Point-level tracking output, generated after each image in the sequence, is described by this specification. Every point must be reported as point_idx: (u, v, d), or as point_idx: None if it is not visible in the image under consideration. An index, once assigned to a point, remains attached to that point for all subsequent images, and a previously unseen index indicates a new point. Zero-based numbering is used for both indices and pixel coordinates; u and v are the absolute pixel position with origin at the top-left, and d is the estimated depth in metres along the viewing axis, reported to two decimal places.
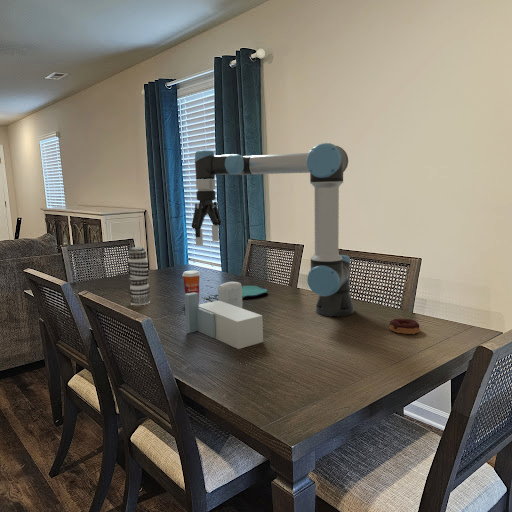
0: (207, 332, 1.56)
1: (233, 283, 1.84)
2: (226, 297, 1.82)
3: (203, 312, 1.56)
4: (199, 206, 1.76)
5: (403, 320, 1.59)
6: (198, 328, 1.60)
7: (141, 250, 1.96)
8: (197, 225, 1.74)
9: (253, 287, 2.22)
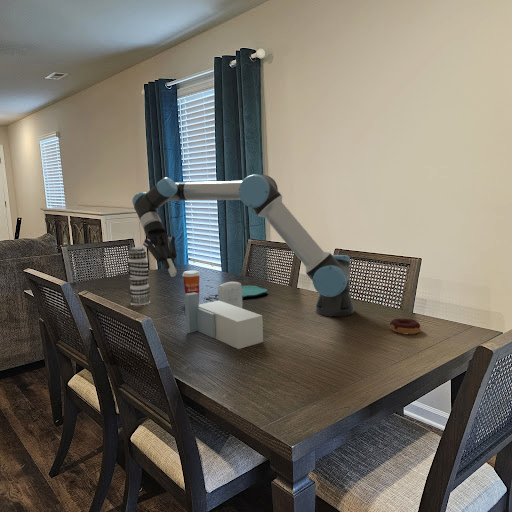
0: (207, 332, 1.56)
1: (233, 283, 1.84)
2: (226, 297, 1.82)
3: (203, 312, 1.56)
4: (146, 243, 1.71)
5: (404, 320, 1.59)
6: (198, 328, 1.60)
7: (141, 250, 1.96)
8: (159, 256, 1.69)
9: (253, 287, 2.22)
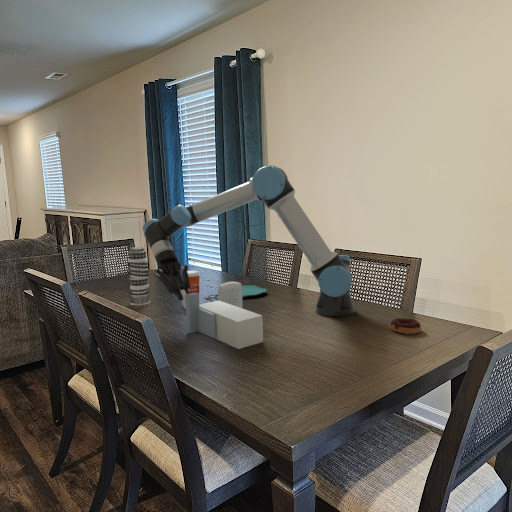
0: (208, 332, 1.55)
1: (233, 283, 1.84)
2: (226, 297, 1.82)
3: (204, 312, 1.56)
4: (158, 273, 1.64)
5: (404, 320, 1.60)
6: (199, 328, 1.60)
7: (141, 250, 1.96)
8: (172, 288, 1.62)
9: (252, 287, 2.23)
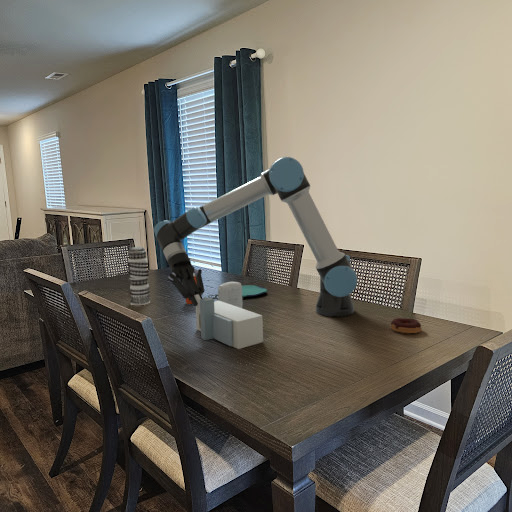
0: (224, 340, 1.47)
1: (233, 283, 1.84)
2: (226, 297, 1.82)
3: (219, 319, 1.48)
4: (171, 277, 1.56)
5: (405, 320, 1.60)
6: (214, 335, 1.52)
7: (141, 250, 1.96)
8: (186, 293, 1.54)
9: (252, 287, 2.23)
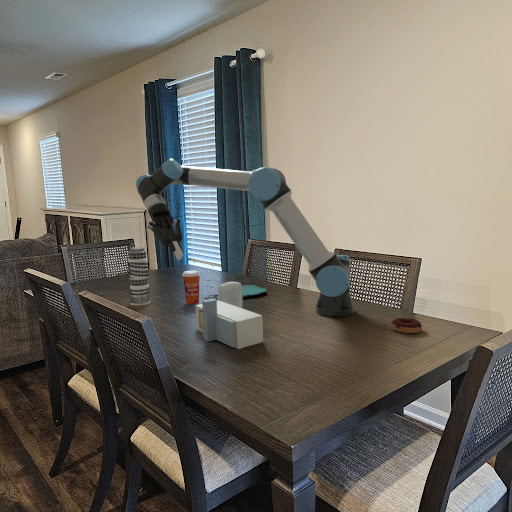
0: (226, 341, 1.46)
1: (233, 283, 1.84)
2: (226, 297, 1.82)
3: (222, 320, 1.47)
4: (151, 225, 1.65)
5: (405, 319, 1.60)
6: (216, 337, 1.51)
7: (141, 250, 1.96)
8: (164, 239, 1.63)
9: (251, 286, 2.23)
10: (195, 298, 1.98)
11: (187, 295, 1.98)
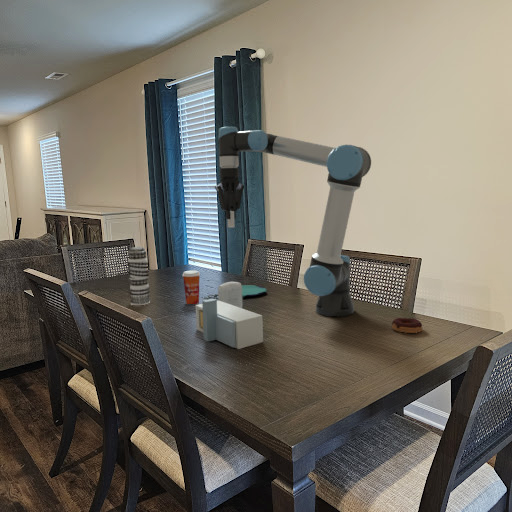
0: (226, 341, 1.46)
1: (233, 283, 1.84)
2: (226, 297, 1.82)
3: (222, 320, 1.47)
4: (218, 189, 1.77)
5: (406, 319, 1.60)
6: (216, 337, 1.51)
7: (141, 250, 1.96)
8: (225, 208, 1.79)
9: (251, 286, 2.24)
10: (195, 298, 1.98)
11: (187, 295, 1.98)
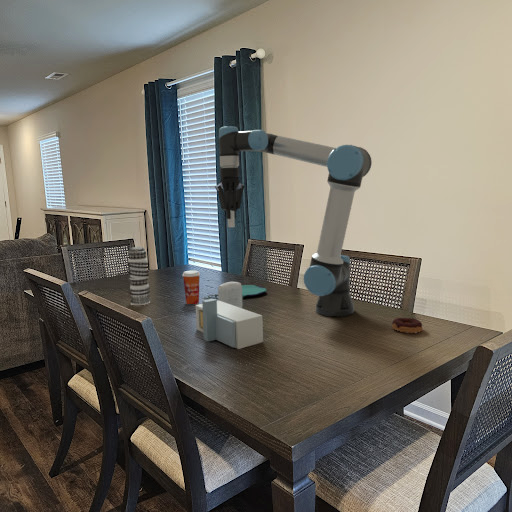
0: (226, 341, 1.46)
1: (233, 283, 1.84)
2: (226, 297, 1.82)
3: (222, 320, 1.47)
4: (219, 189, 1.77)
5: (406, 319, 1.60)
6: (216, 337, 1.51)
7: (141, 250, 1.96)
8: (225, 207, 1.79)
9: (251, 286, 2.24)
10: (195, 298, 1.98)
11: (187, 295, 1.98)
